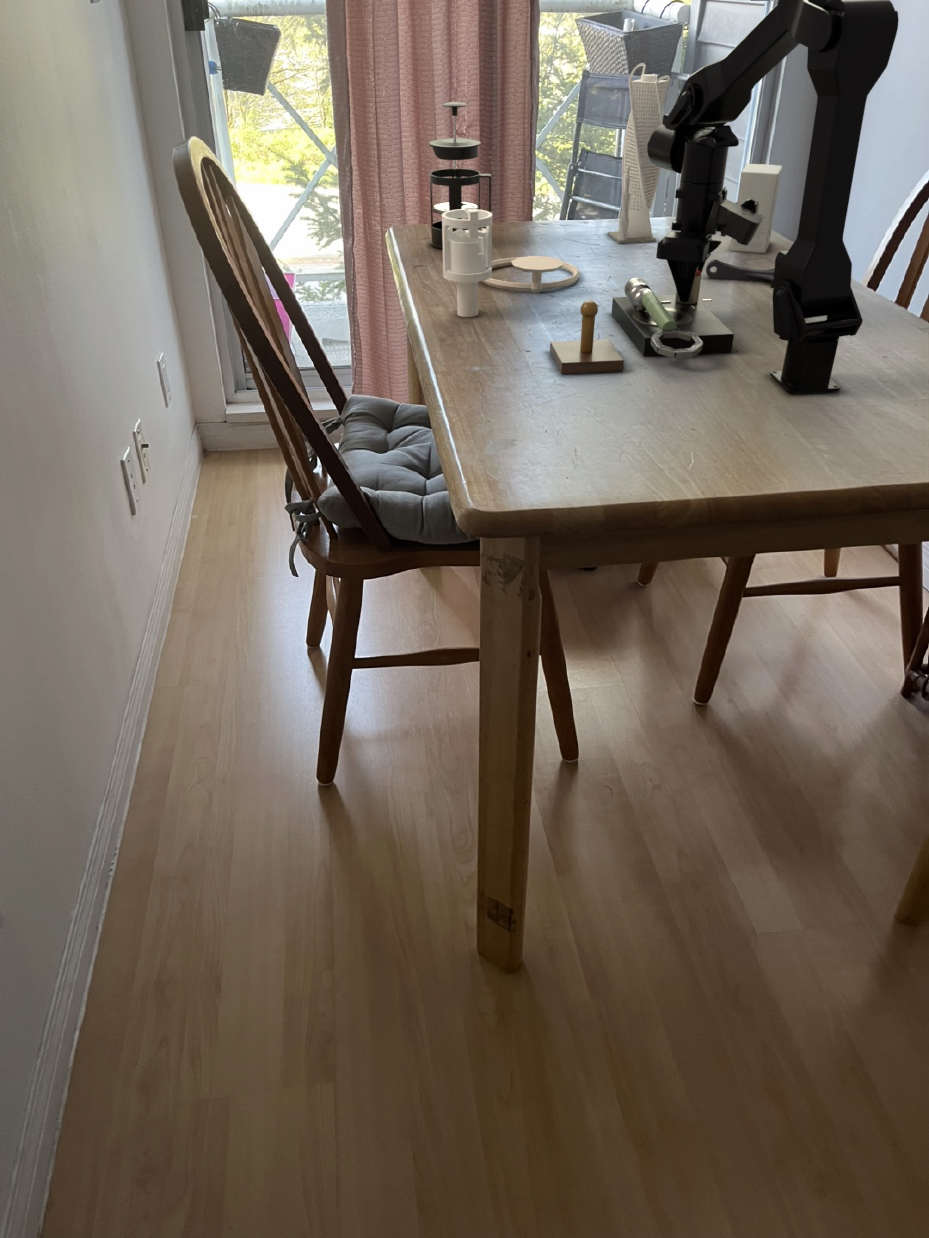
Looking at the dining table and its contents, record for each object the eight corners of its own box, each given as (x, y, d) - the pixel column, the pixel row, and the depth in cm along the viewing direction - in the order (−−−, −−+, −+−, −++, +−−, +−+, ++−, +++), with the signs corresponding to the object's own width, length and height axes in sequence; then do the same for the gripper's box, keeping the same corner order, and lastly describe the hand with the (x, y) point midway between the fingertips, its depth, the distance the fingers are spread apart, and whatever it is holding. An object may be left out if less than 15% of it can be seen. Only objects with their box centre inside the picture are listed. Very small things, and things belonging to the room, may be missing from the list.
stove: (743, 352, 126) (747, 332, 124) (643, 356, 125) (645, 336, 123) (701, 310, 141) (703, 292, 139) (610, 314, 139) (612, 295, 138)
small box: (734, 240, 175) (746, 163, 167) (770, 243, 173) (783, 165, 165) (729, 251, 168) (740, 171, 161) (765, 253, 167) (779, 173, 159)
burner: (699, 325, 127) (699, 324, 127) (641, 328, 126) (641, 326, 126) (681, 307, 134) (681, 306, 134) (626, 309, 133) (626, 308, 133)
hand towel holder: (569, 236, 161) (596, 268, 144) (568, 262, 163) (594, 297, 146) (470, 238, 159) (486, 271, 142) (470, 265, 162) (486, 301, 145)
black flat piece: (704, 265, 161) (706, 248, 159) (794, 269, 158) (797, 252, 157) (705, 290, 149) (708, 272, 147) (803, 295, 147) (807, 276, 145)
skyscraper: (605, 232, 180) (618, 62, 164) (645, 230, 181) (662, 61, 165) (619, 243, 173) (634, 67, 157) (661, 241, 174) (680, 66, 158)
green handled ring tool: (705, 367, 121) (710, 341, 118) (659, 371, 120) (663, 345, 118) (651, 293, 136) (655, 270, 133) (610, 296, 135) (613, 273, 133)
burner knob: (683, 305, 134) (687, 276, 132) (670, 299, 136) (674, 270, 134) (702, 303, 135) (706, 273, 133) (689, 297, 138) (692, 268, 135)
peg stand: (623, 371, 120) (628, 309, 116) (561, 374, 120) (564, 311, 115) (608, 350, 127) (613, 290, 122) (549, 352, 126) (552, 292, 121)
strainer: (451, 323, 136) (449, 213, 128) (438, 309, 142) (436, 202, 133) (497, 318, 138) (499, 209, 129) (483, 304, 143) (483, 198, 135)
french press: (424, 250, 170) (420, 106, 157) (428, 237, 178) (425, 99, 164) (490, 251, 169) (491, 106, 156) (491, 238, 177) (492, 99, 164)
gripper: (750, 198, 117) (730, 324, 126) (774, 172, 131) (755, 287, 140) (662, 191, 121) (649, 314, 130) (694, 167, 135) (680, 279, 144)
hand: (686, 298), depth 136 cm, fingers closed on burner knob, 3 cm apart
